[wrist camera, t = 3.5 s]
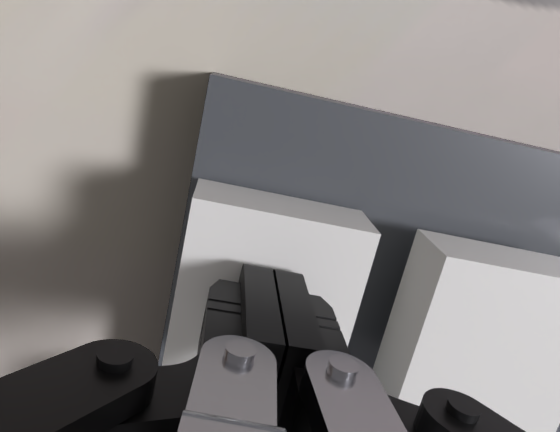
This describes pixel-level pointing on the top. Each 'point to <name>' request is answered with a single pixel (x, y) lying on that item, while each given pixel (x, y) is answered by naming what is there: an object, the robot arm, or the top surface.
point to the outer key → (267, 253)
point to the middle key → (477, 328)
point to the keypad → (376, 179)
